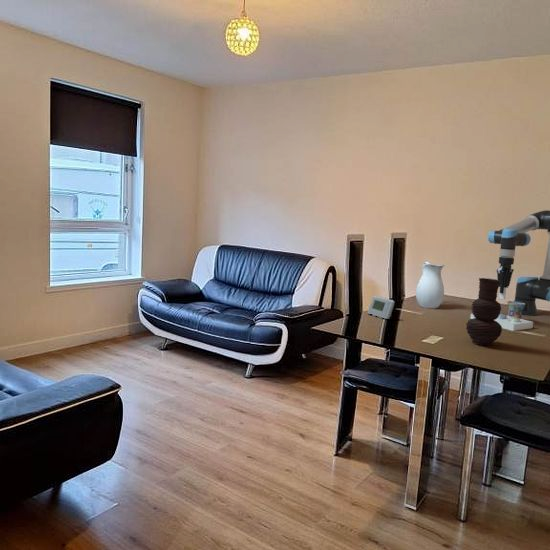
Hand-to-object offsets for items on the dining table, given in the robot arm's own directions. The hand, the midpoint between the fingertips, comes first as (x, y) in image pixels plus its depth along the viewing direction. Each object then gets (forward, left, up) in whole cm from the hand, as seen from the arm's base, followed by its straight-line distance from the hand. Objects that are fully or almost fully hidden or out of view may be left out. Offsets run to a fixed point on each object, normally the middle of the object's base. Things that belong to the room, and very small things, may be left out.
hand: (501, 298), depth 274 cm
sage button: (+2, +11, -13) cm, 17 cm away
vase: (+52, +26, -14) cm, 60 cm away
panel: (+2, +3, -14) cm, 14 cm away
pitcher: (+3, -48, -14) cm, 50 cm away
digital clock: (+60, -33, -14) cm, 70 cm away
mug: (-16, 0, -14) cm, 21 cm away
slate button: (+2, +3, -13) cm, 14 cm away
